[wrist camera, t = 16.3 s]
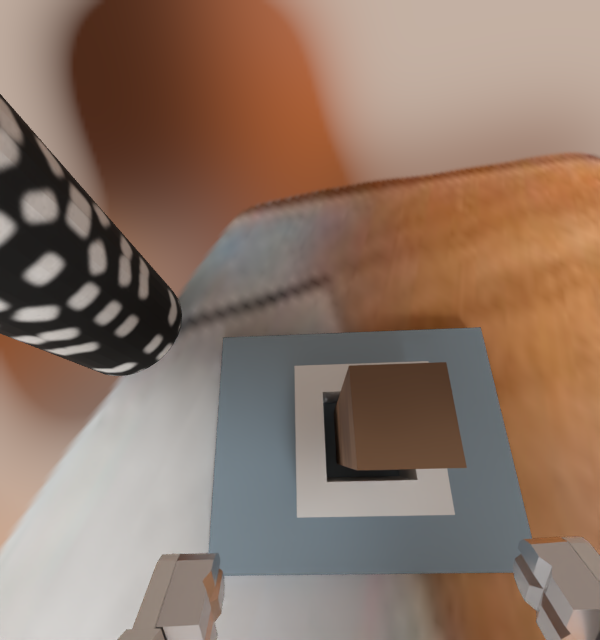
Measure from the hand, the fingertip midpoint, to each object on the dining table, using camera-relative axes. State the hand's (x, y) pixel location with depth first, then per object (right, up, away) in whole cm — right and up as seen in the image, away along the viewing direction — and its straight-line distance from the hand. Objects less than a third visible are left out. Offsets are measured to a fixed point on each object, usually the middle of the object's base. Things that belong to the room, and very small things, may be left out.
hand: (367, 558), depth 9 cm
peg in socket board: (+2, -1, +13) cm, 13 cm away
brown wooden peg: (+2, -1, +12) cm, 12 cm away
